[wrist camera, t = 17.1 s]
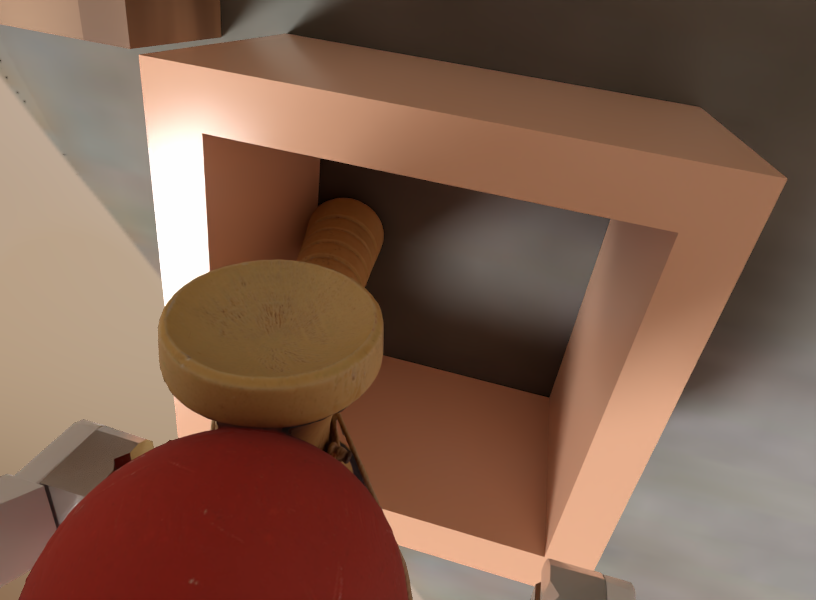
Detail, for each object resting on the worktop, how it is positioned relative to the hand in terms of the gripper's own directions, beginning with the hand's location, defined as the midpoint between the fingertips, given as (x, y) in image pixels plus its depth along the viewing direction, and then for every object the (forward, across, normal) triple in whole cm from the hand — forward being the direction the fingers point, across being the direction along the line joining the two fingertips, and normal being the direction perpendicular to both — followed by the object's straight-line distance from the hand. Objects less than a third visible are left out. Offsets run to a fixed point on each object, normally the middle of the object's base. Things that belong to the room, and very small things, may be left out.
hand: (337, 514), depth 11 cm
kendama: (+13, +4, 0) cm, 13 cm away
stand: (+13, 0, 0) cm, 13 cm away
